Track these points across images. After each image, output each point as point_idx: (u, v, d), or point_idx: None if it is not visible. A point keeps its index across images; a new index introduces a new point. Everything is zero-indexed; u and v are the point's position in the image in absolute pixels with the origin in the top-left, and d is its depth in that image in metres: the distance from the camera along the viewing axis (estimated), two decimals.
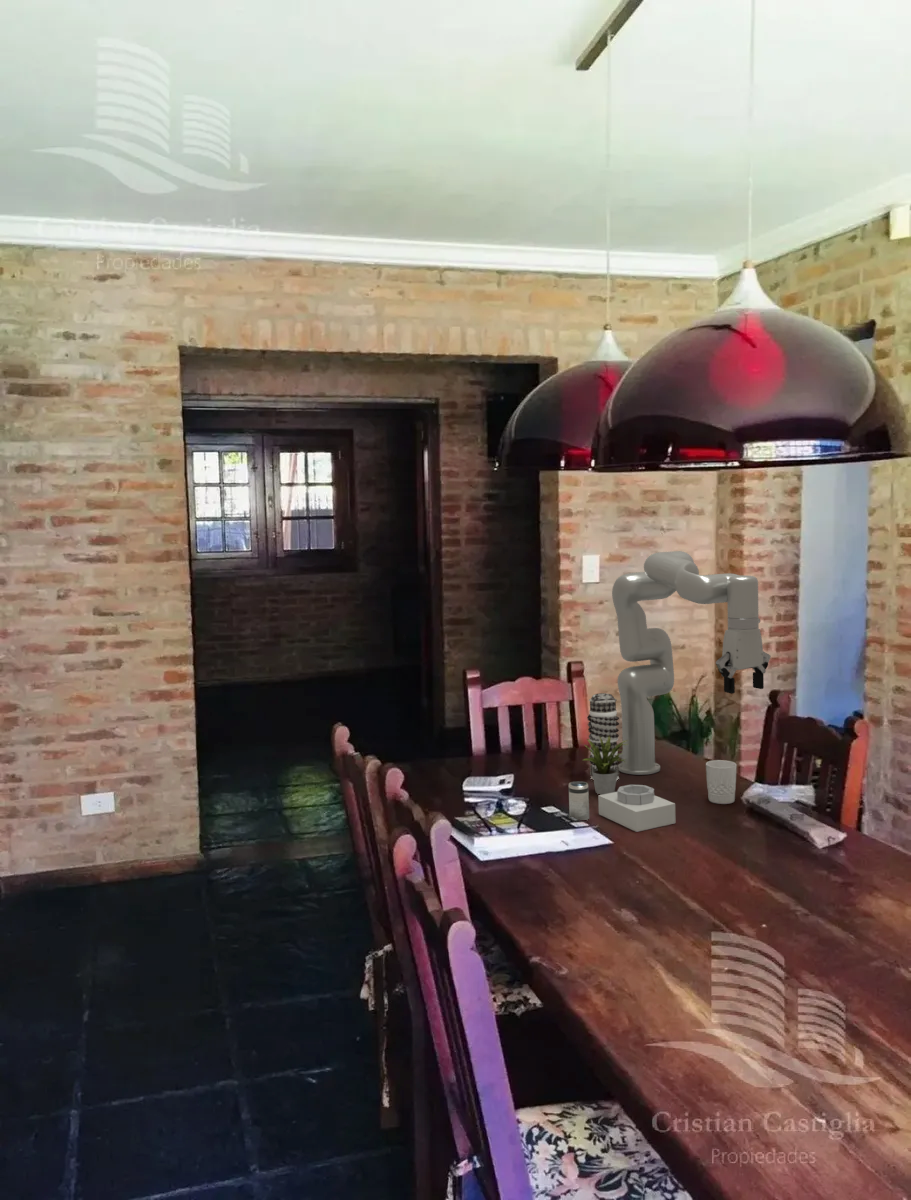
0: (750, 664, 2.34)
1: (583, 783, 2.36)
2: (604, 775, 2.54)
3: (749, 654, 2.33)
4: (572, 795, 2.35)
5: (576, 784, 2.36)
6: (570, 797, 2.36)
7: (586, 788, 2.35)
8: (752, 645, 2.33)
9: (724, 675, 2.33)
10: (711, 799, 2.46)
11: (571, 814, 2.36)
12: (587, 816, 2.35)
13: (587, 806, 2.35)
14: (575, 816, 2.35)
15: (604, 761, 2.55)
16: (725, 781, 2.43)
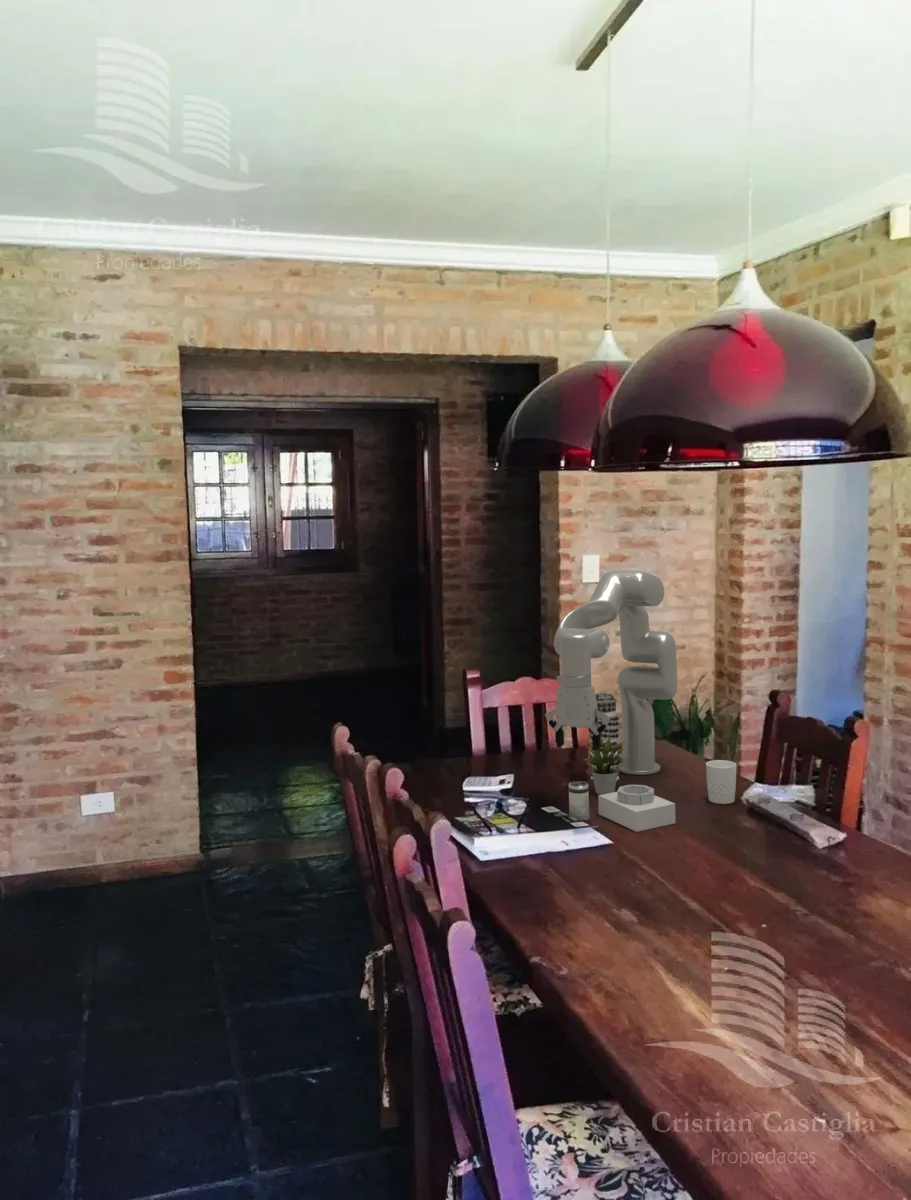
0: None
1: (583, 783, 2.36)
2: (604, 775, 2.54)
3: None
4: (572, 795, 2.35)
5: (576, 784, 2.36)
6: (570, 797, 2.36)
7: (586, 788, 2.35)
8: None
9: (601, 731, 2.32)
10: (711, 799, 2.46)
11: (571, 814, 2.36)
12: (587, 816, 2.35)
13: (587, 806, 2.35)
14: (575, 816, 2.35)
15: (604, 761, 2.55)
16: (725, 781, 2.43)
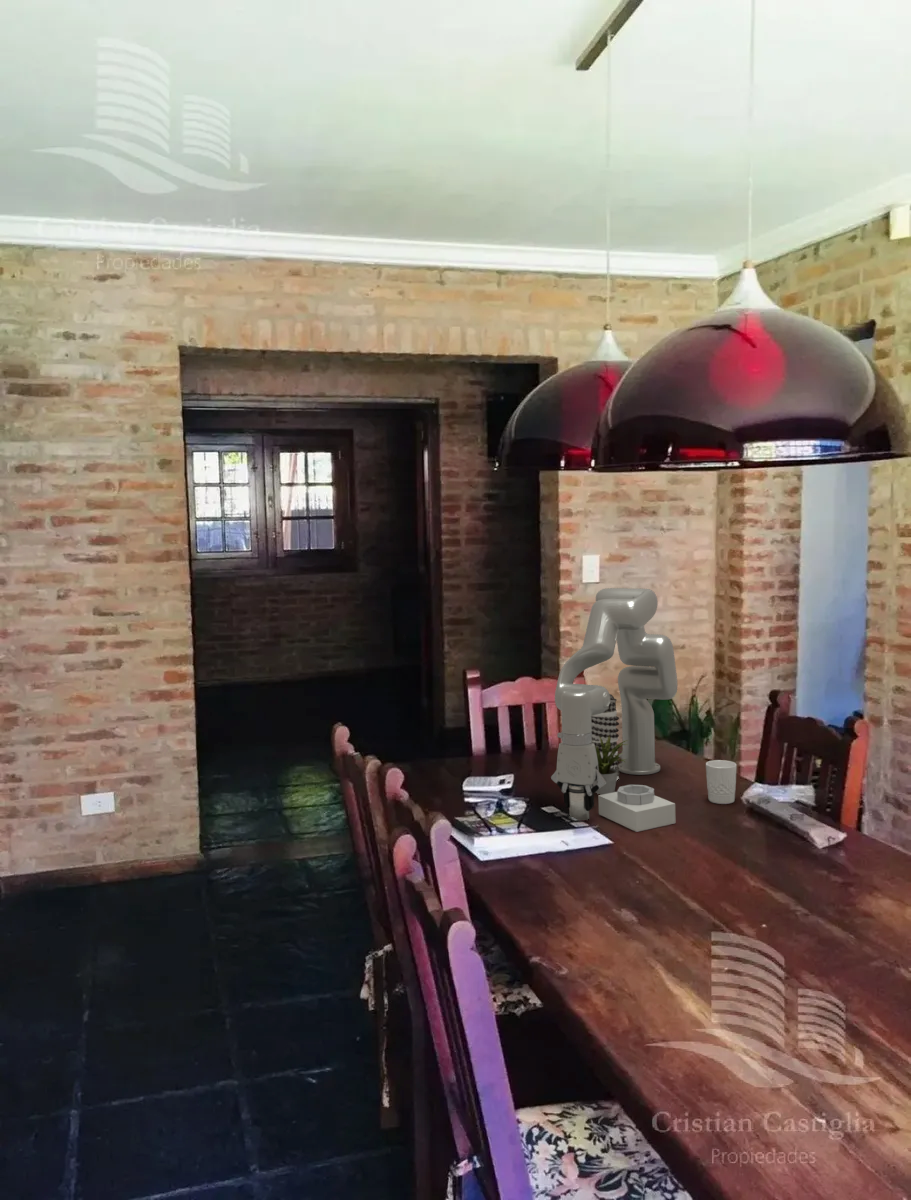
0: None
1: None
2: (604, 775, 2.54)
3: None
4: (572, 795, 2.35)
5: (576, 784, 2.36)
6: (570, 797, 2.36)
7: None
8: None
9: (594, 792, 2.34)
10: (711, 799, 2.46)
11: (571, 814, 2.36)
12: (587, 816, 2.35)
13: None
14: (575, 816, 2.35)
15: (604, 761, 2.55)
16: (725, 781, 2.43)
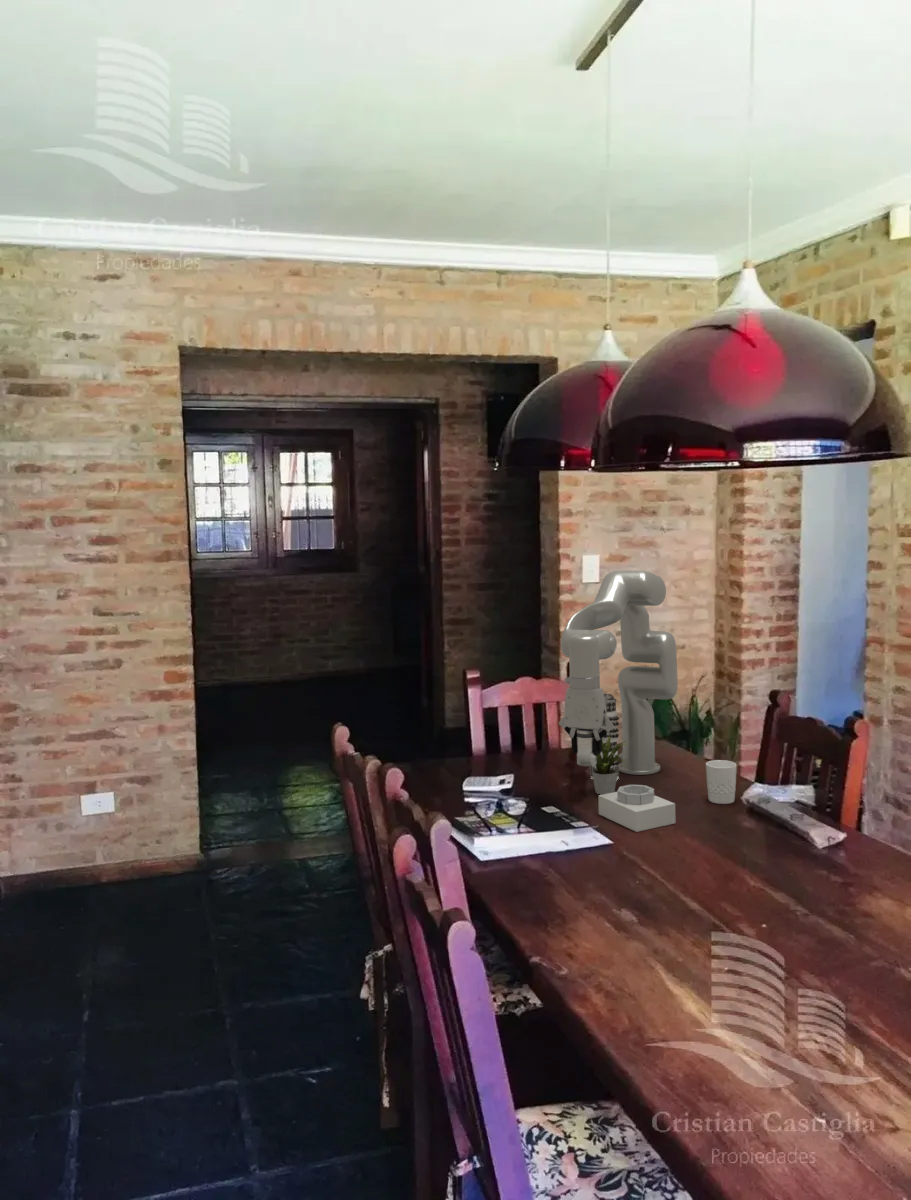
0: None
1: None
2: (604, 775, 2.54)
3: None
4: (580, 739, 2.33)
5: (584, 729, 2.34)
6: (578, 742, 2.34)
7: None
8: None
9: (602, 737, 2.33)
10: (711, 799, 2.46)
11: (579, 759, 2.34)
12: (595, 761, 2.34)
13: None
14: (583, 761, 2.33)
15: (604, 761, 2.55)
16: (725, 781, 2.43)
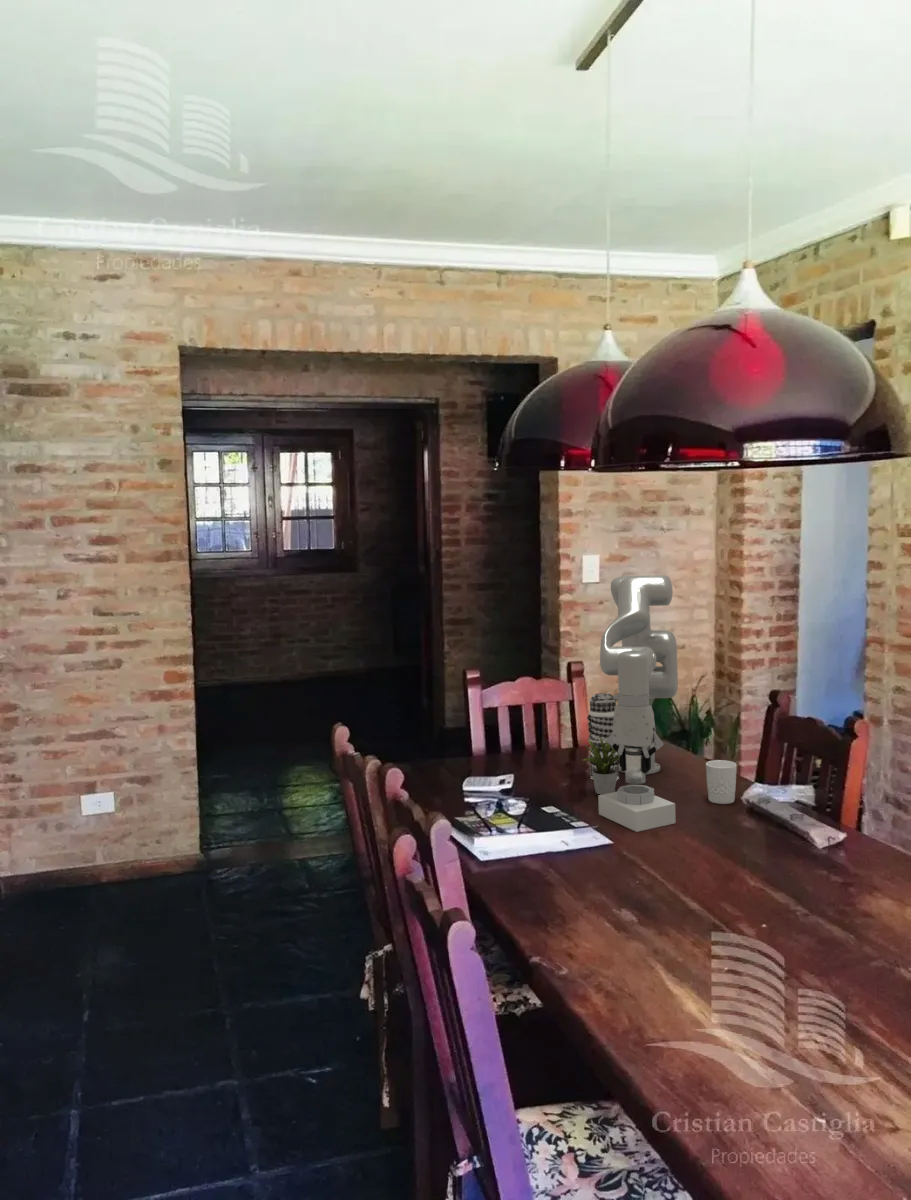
0: None
1: None
2: (604, 775, 2.54)
3: None
4: (629, 757, 2.32)
5: (632, 746, 2.33)
6: (626, 759, 2.33)
7: None
8: None
9: (651, 754, 2.31)
10: (711, 799, 2.46)
11: (627, 777, 2.33)
12: (644, 779, 2.33)
13: None
14: (632, 779, 2.32)
15: (604, 761, 2.55)
16: (725, 781, 2.43)
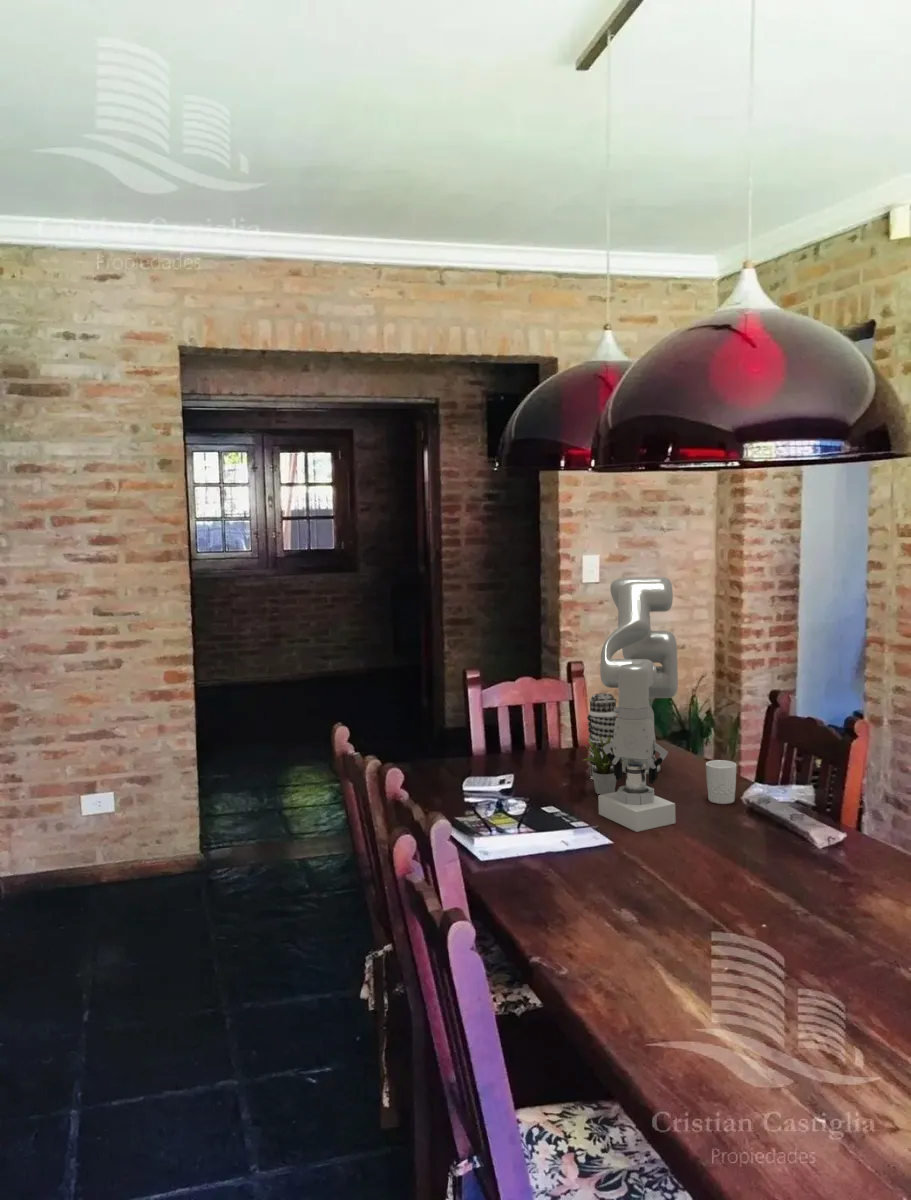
0: None
1: (640, 763, 2.34)
2: (604, 775, 2.54)
3: None
4: (630, 775, 2.32)
5: (633, 764, 2.33)
6: (627, 778, 2.33)
7: (644, 768, 2.32)
8: None
9: (658, 765, 2.31)
10: (711, 799, 2.46)
11: None
12: None
13: (645, 787, 2.33)
14: None
15: (604, 761, 2.55)
16: (725, 781, 2.43)
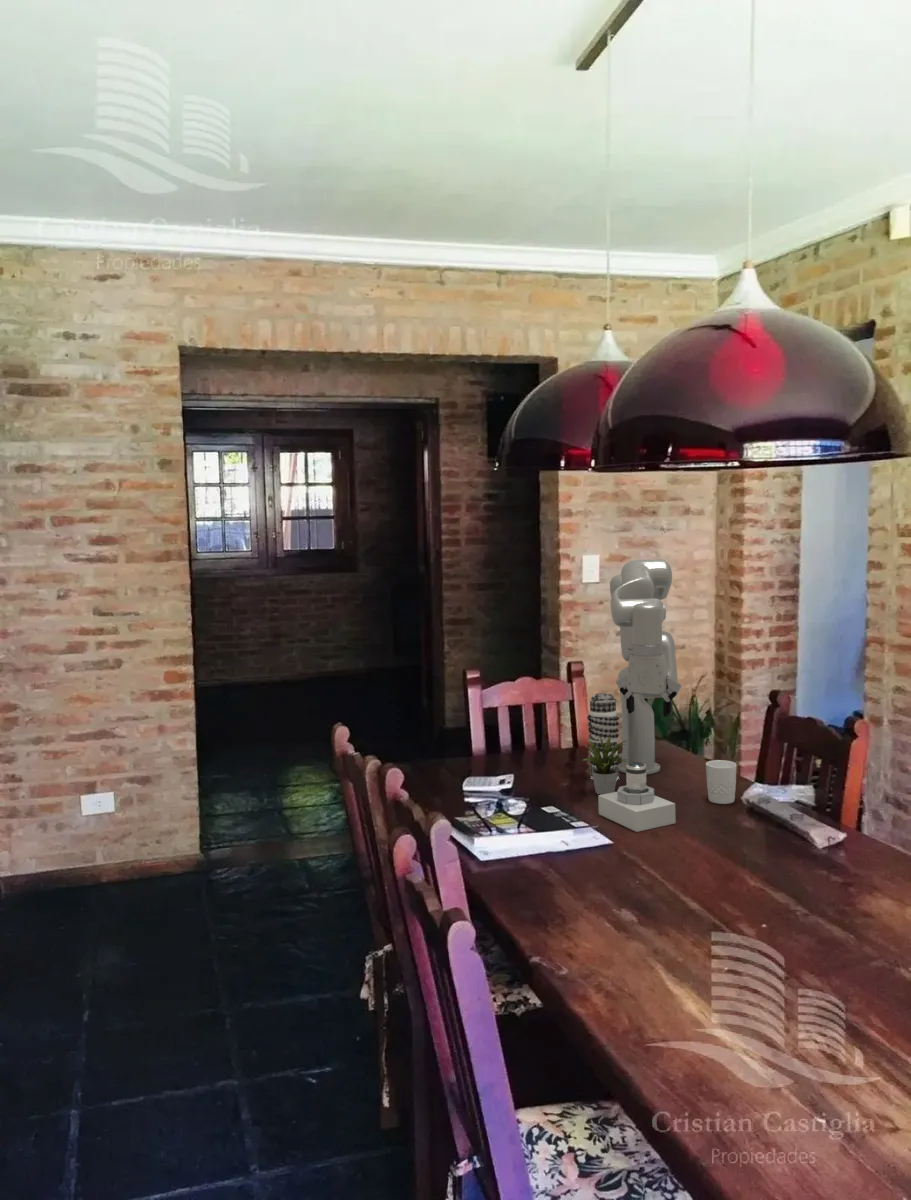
0: None
1: (641, 764, 2.34)
2: (604, 775, 2.54)
3: None
4: (630, 775, 2.32)
5: (634, 765, 2.33)
6: (628, 778, 2.33)
7: (644, 769, 2.32)
8: None
9: (672, 698, 2.40)
10: (711, 799, 2.46)
11: None
12: None
13: (645, 787, 2.33)
14: None
15: (604, 761, 2.55)
16: (725, 781, 2.43)
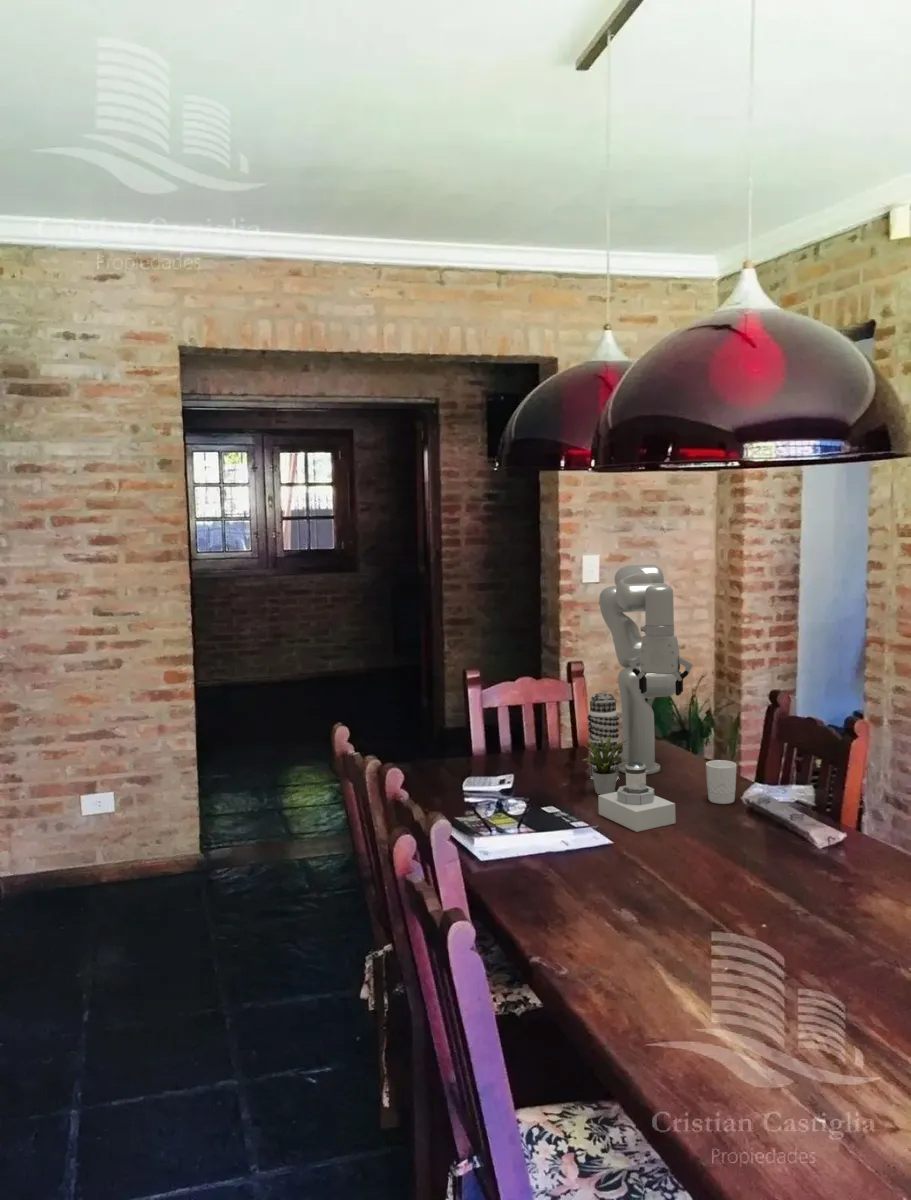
0: None
1: (640, 764, 2.34)
2: (604, 775, 2.54)
3: None
4: (630, 775, 2.32)
5: (633, 765, 2.33)
6: (627, 778, 2.33)
7: (643, 768, 2.32)
8: None
9: None
10: (711, 799, 2.46)
11: None
12: None
13: (644, 787, 2.33)
14: None
15: (604, 761, 2.55)
16: (725, 781, 2.43)
